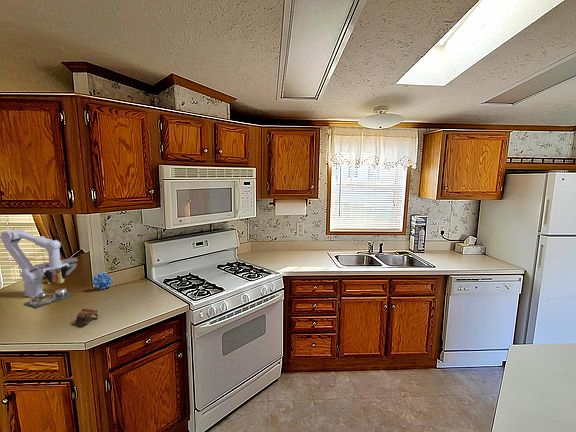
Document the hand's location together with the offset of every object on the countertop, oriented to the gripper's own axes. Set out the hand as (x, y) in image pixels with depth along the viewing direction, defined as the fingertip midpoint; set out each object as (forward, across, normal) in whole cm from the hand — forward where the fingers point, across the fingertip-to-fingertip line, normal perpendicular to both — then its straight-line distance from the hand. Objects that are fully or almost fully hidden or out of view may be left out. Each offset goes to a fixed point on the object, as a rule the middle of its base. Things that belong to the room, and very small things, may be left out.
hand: (57, 280), depth 186 cm
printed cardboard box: (+10, +22, +41) cm, 47 cm away
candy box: (+10, +11, +24) cm, 29 cm away
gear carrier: (+9, -8, -5) cm, 13 cm away
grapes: (+10, +16, -20) cm, 28 cm away
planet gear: (+8, -11, -5) cm, 15 cm away
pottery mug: (+10, -16, -56) cm, 59 cm away
